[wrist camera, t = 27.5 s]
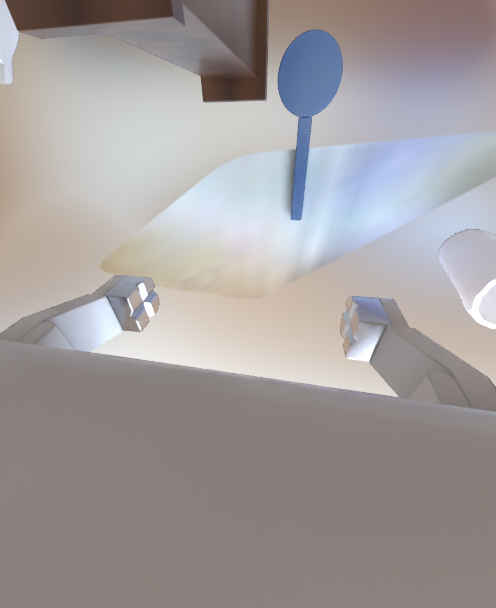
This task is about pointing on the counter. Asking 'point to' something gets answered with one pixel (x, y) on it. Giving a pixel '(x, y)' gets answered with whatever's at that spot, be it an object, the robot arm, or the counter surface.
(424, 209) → the counter surface
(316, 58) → the spoon
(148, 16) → the spoon stand
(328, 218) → the counter surface
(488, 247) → the foam cup
